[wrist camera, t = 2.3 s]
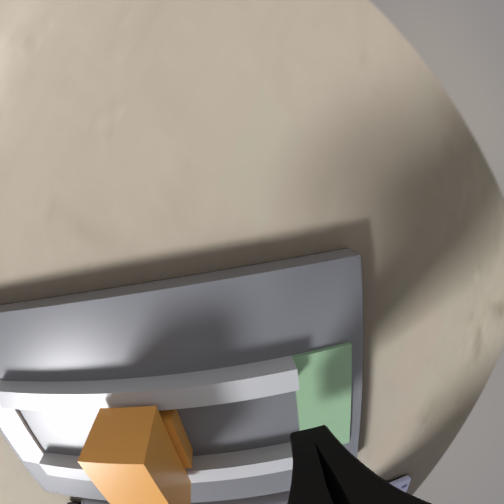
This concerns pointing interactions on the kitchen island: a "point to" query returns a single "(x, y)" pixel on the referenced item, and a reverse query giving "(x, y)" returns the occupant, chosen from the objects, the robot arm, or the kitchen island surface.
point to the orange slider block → (138, 456)
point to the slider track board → (191, 369)
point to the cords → (277, 500)
